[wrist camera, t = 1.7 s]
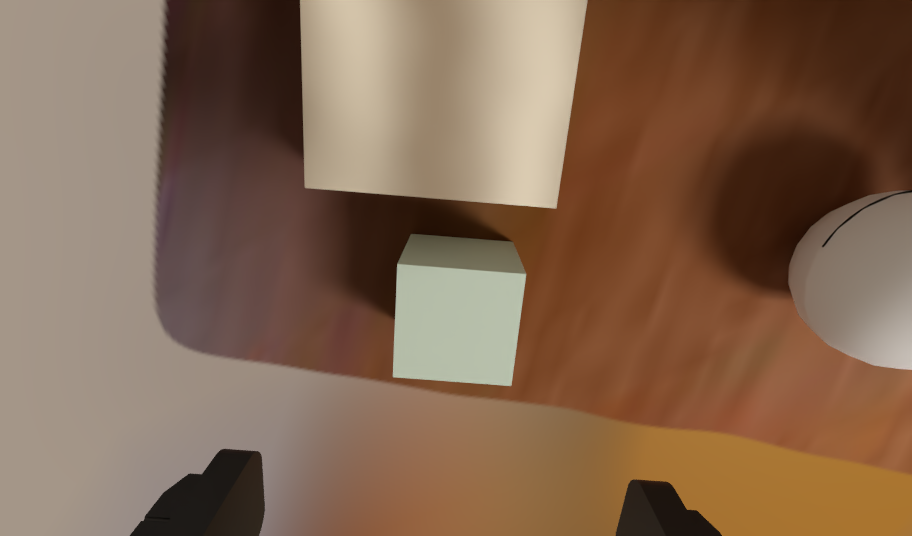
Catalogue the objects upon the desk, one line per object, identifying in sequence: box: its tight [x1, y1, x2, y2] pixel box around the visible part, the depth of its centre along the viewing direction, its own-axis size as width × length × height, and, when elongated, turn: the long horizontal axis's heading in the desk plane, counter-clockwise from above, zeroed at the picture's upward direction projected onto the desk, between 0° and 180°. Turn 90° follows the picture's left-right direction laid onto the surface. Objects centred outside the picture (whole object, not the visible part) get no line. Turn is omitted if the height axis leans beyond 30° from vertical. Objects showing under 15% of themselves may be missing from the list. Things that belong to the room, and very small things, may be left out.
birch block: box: [300, 0, 587, 208], centre depth 18 cm, size 10×10×4 cm
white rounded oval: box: [788, 190, 912, 370], centre depth 18 cm, size 10×7×7 cm
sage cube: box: [393, 234, 526, 386], centre depth 21 cm, size 5×5×5 cm
